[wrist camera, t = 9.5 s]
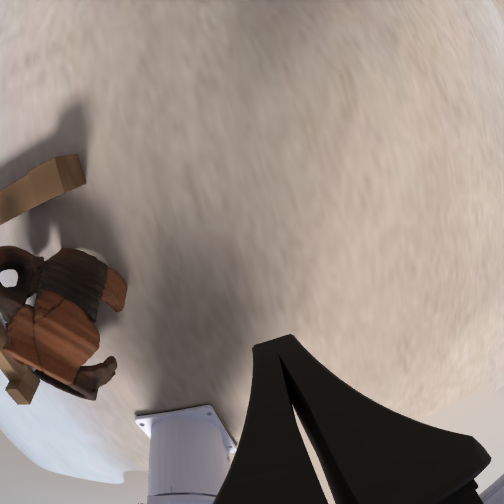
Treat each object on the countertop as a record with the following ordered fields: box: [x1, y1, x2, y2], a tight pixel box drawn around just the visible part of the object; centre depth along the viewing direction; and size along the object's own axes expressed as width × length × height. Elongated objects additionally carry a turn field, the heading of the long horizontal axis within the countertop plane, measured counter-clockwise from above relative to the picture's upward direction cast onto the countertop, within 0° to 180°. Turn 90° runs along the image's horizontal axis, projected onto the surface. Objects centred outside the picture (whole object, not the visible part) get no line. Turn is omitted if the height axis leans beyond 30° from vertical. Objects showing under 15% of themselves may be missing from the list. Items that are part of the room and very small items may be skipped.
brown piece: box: [0, 246, 127, 401], centre depth 16 cm, size 12×10×8 cm
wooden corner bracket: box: [0, 154, 86, 404], centre depth 16 cm, size 16×16×3 cm
